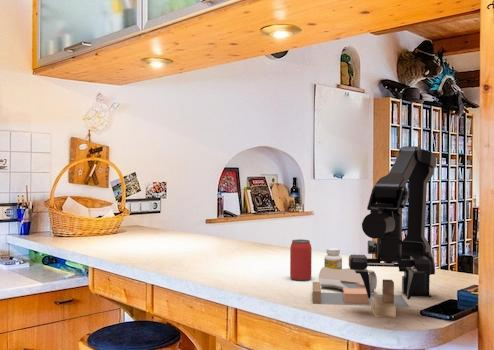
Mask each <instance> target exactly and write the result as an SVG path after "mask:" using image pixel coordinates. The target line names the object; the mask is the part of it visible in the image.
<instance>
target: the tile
mask: <svg viewBox="0 0 494 350" xmlns="http://www.w3.org/2000/svg"><path fill="white" fill-rule="evenodd" d="M342 293H343V300H344V303H355V304H368V295H367V292H366V289H359V288H343V290H342Z"/></svg>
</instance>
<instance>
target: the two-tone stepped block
mask: <svg viewBox="0 0 494 350" xmlns="http://www.w3.org/2000/svg"><path fill="white" fill-rule="evenodd" d="M381 292H382V294H381V295H382V297H371V306H370V309H371V310H372V312H373V315H374V317H375V318H391V319H392V318H394V319H396V317H397V314H396V313H397V307H396V306H395V305H394V295H395V282H394V281H393V280H392V279H382V291H381Z"/></svg>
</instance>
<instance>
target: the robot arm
mask: <svg viewBox="0 0 494 350" xmlns="http://www.w3.org/2000/svg"><path fill="white" fill-rule="evenodd" d="M436 167H437V156H436V155H435V154H434V153H433V152H432V151H431V150H426V149H424V148H421V147H420V146H416V145H415V146H401V147H400V148H399V151H398V155H397V157H396V160H394V163H393V165H392V167H391V169H390V170H389V172H388V173H387V175H384V176H382V177H380V178H379V179H378V180H377V182H376V183H375V185H374V186H372V190H371V192H370V193H371V194H370V197H369V200H368V203H367V207H366V208H367V211H370V213H368V214H367V215H366V216H365V217H364V218H363V220H362V222H361V228H362V231H363V233H364V235H366V236H367V237H369V238H370V239H373V240H367V255H374V258H367V255H365V254H350V255H349V256H348V267H349V268H350V269H351V270H355V272H356V273H358V274H360V275H361V277H362V279H363V282H364V285H365V289H366V292H367V295H368V298H370V283H369V272H368V270H369V269H367V268H368V267H380V268H381V267H386V268H398V272H401V273H402V272H403V275H402V277H401V291H402V292H403V294H404V295H405V296H406V299H407V300H408V301H409V300H410V299H411V297H418V298H419V297H422V298H425V297H427V298H431V297H432V294H431V293H430V280H431V279H430V276H431V275H436V263H435V261H434V257H433V253H432V252H431V245H430V243H429V242H428V240H427V238H426V235H425V234H426V211H427V210H426V209H427V194H428V193H427V191H428V190H427V189H428V183H429V181H430V180H431V179H432V177H433V176H434V173H435V168H436ZM408 182H409V183H408ZM407 183H408V184H409V185H408V186H409V188H408V187H407ZM408 189H409V190H408ZM407 203H408V205H407V206H408V207H407V227H406V228H407V229H406V235H405V236H404V238H403V240H402V234H403V233H402V228H403V225H402V223H403V217H402V215H403V209H405V208H406V204H407ZM374 239H376V240H374Z"/></svg>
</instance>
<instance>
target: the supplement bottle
mask: <svg viewBox="0 0 494 350" xmlns="http://www.w3.org/2000/svg"><path fill="white" fill-rule="evenodd" d="M340 252H341V251H340V248H336V247H335V248H332V247H330V248H328V247H327V248H326V255H325V256H324V262H323V263H324V264H323V265H324V266H323V267H328V268H331V269H343V257H342V256H341V255H340Z"/></svg>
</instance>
